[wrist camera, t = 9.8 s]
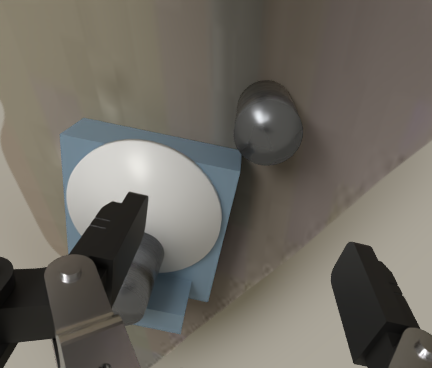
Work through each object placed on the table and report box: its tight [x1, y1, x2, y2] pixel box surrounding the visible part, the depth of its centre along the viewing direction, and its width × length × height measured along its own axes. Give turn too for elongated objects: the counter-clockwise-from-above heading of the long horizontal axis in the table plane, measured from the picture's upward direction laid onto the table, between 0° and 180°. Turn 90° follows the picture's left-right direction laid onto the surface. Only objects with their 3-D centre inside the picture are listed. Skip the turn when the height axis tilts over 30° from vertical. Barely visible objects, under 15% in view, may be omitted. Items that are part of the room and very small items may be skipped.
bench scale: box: [60, 118, 242, 334], centre depth 28 cm, size 16×14×8 cm
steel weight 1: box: [112, 232, 164, 326], centre depth 26 cm, size 4×4×6 cm
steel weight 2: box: [234, 80, 303, 165], centre depth 23 cm, size 4×4×6 cm
